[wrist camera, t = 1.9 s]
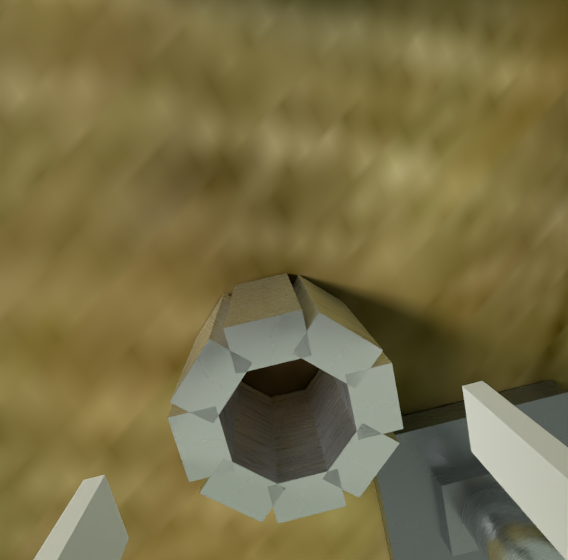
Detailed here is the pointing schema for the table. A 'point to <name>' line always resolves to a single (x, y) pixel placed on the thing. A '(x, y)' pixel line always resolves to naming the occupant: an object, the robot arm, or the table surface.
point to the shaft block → (461, 487)
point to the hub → (284, 403)
